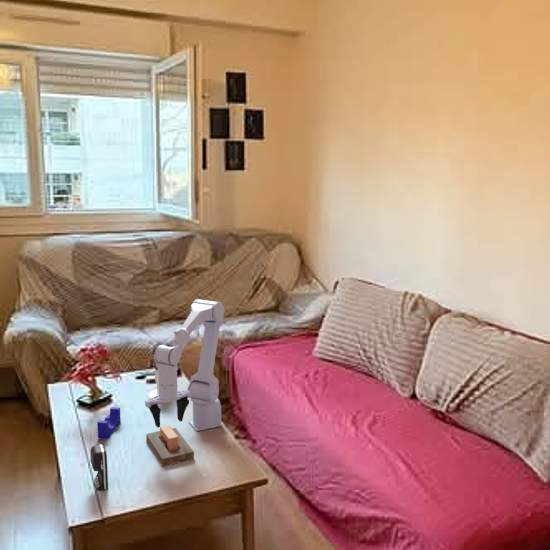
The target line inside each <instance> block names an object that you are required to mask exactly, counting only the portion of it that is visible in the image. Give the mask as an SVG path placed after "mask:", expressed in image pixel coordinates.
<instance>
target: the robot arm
mask: <svg viewBox="0 0 550 550" xmlns="http://www.w3.org/2000/svg"><path fill="white" fill-rule="evenodd" d="M225 310H226V308H225V307H224V304H223V302H221V301H214V300H207V299H202V298H201V299H200V298H196V299H195V300H193V302H192V304H191V305H190V313H189V315H188V316H187V318H186V319H185V321H184V323H183V324H182V325H181V327H180V328H179V327H178V328H176V329H174V331H172V333H171V335H169V337H168V338H167V340H166V341H165V342H164V344H160V345H159V346H156V349H155V350H154V354H153V361H154V362H155V363H156V367H157V368H158V381H159V395H157V396H155V397H153V398H147V399H145V400H144V403H145V407H146V408H147V409H149V411H150V413H151V416H152V418H153V421H154V426H155V427H156V428H159V429H160V427H161V411H162V409H161V408H160V406H159V405H162V404H166V403H172V402H175V403H176V408H177V412H176V413H177V416H176V417H177V420H178V421H179V422H183V419H184V415H185V412H186V410H187V408H188V406H189V404H190V402H192V419H191V420H188V423H189V424H190V425H191V426H192V428H193V429H194V430H195V431H196V432H199V431H204V430H208V429H214V428H218V427H222V426H223V424H222V405H221V402H220V399H219V398H218V397H219V394H220V390H219V389H220V388H219V386H220V385H219V383H220V381H219V379H218V378H217V377H216V376H215V375H214V374H213V373H214V369H215V361H216V360H215V359H216V355H217V354H216V353H217V347H218V342H219V335H220V329H221V326H223V324H224V316H225ZM200 324H202V325H203V329H204V330H203V337H202V341H201V342H202V343H201V347H200V348H201V350H200V354H199V363H198V369H197V372H196V373H195V374H192V375H191V376H190V379H189V383H188V385H187V389H186V390H180V391H178V363H179V362H180V360H181V357H182V354H183V350H184V348H185V347H186V346H187V345H188V343H189V342H190V340H191V336H190V334H192V333H193V332H194V331H195V329H196V328H197V327H198V326H199V325H200ZM189 399H190V400H189Z"/></svg>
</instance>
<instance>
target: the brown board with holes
mask: <svg viewBox="0 0 550 550" xmlns="http://www.w3.org/2000/svg"><path fill="white" fill-rule="evenodd" d="M172 429H173V431H174V432H175V433H176V435H177V436H178V450H174V451H169V452H168V450H167V441H164V442H162V441H161V440H160V430H159V431H158V430H157V431H153V432H149V433H146V435H145V437H146V442H148V443H147V444H148V445H150V446H149V447H150V449H151V448H152V449H151V451H152V453H153V454H154V453H155V454H154V456H155V457H156V456H157V457H156V458H157V460H158V461H160V462H159V464H160V465H161V464H162V465H161V466H162V467H167V466H171V465H175V464H174V463H176V464H179V462H180V463H183V462H188V461H187V460H189V461H192V460H191V459H193V460H195V451H194V450H193V448H192V447H191V446H190V445H189V443H188V442H187V441H186V440H185V438H184V437H183V436H182V435H181V433H180V432H179V430H178V429H177V428H176V427H173V428H172ZM170 464H171V465H170ZM166 465H167V466H166Z"/></svg>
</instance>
